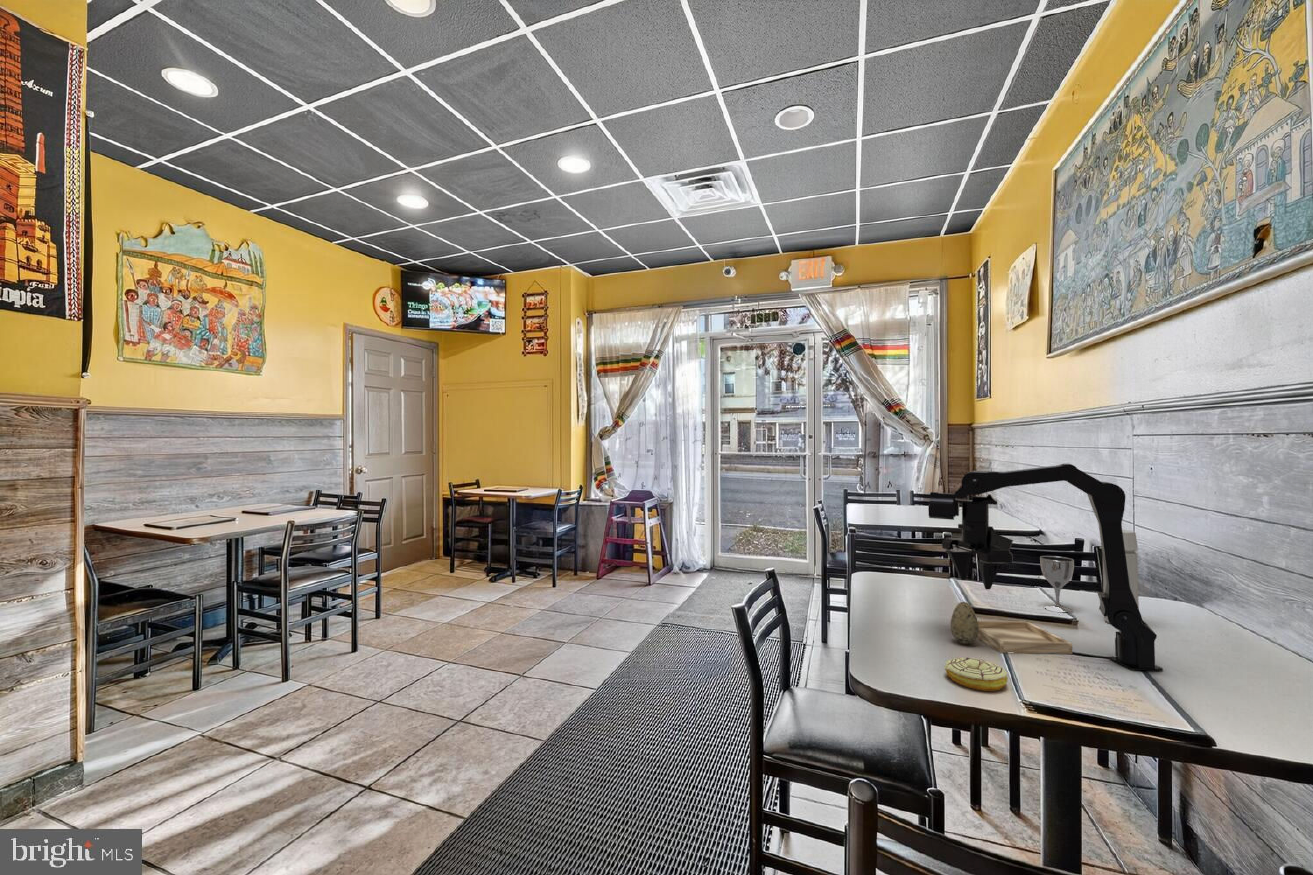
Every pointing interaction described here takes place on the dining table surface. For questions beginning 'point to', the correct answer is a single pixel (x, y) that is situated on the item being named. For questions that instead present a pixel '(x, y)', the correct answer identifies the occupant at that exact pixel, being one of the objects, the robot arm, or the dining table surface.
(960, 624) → the decorative egg
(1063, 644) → the wooden tray
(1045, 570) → the wine glass
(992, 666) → the decorated donut
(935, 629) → the dining table surface
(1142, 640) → the robot arm
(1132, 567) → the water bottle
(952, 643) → the dining table surface
